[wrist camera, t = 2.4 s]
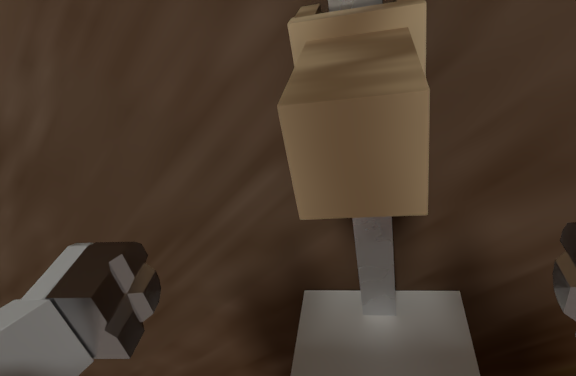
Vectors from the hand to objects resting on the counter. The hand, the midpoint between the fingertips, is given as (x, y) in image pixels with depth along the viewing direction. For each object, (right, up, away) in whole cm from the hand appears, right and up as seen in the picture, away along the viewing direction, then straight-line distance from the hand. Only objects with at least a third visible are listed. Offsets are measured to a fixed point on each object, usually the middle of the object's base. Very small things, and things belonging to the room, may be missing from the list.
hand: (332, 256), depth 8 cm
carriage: (+2, +7, +10) cm, 13 cm away
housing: (+6, -8, +20) cm, 22 cm away
